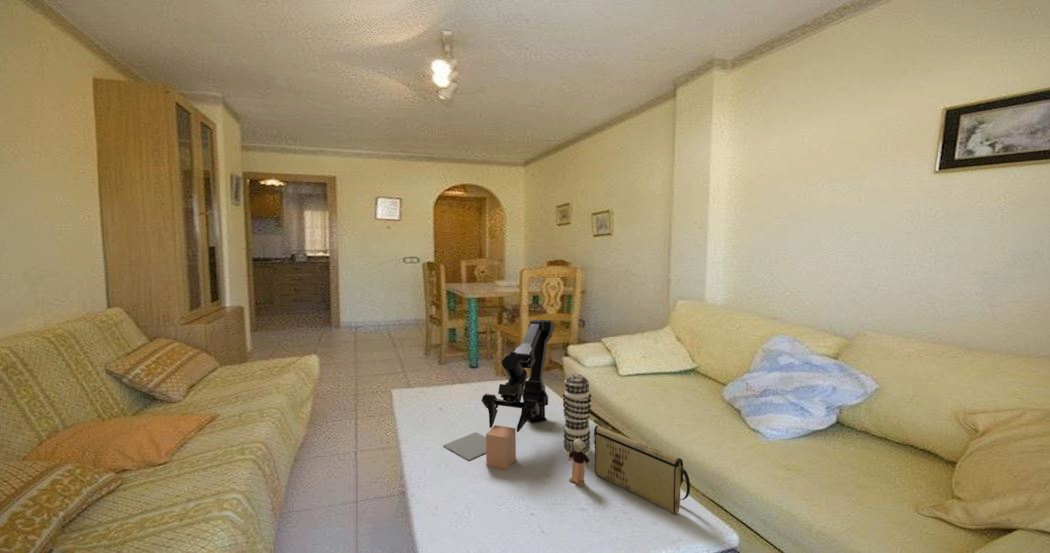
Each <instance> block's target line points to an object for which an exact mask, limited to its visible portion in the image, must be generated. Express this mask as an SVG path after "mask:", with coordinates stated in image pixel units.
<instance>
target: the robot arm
mask: <svg viewBox="0 0 1050 553" xmlns="http://www.w3.org/2000/svg"><path fill="white" fill-rule="evenodd" d="M528 326H529V327H528V329H527V331H526V334H525V336H524V338H523V340H522V342H521V345H519V346H517V347H515V350H514V351H510V354H508V355H506V356H505V357H504V358H502V361H501V366H502V368H503V369H504V372H505V373H506V375H507V377H508V380H507V382H505V384H504V383H500V384H499V385H498V393H497V394H498V395H500V397H501V398H502V399H500V398H497V396H496V395H495V394H491V393H490V394H489V393H485V394H483V395H482V397H481V402H482V404H483V405H484V407H485V408H486V409H487V410H488V419H489V420H488V422H489V423H488V424H489V428H490V429H492V428H493V427H494V423H495V420H496V417H497V413H498V409H497V408H499V406H501V407H510V408H516V409H521V414H520V416H519V420H518V423H517V425H516V426H517V427H516V433H519V432H520V431H521V429H523V427H524V425H526V423H527V422H529V423H531V424H535V423H538V422H539V423H540V422H545V421H547V420H548V419H547V417H546V406H548V405H549V396H548V394H547V391H546V385H545V383H544V381H543V376H544V368H545V360H546V352H547V344H548V342H549V341H550V339H552V336H553V332H554V331H555V324H554V323H553V322H552V320H551V319H532V320H531V319H530V321H529V325H528ZM526 369H531V370H530V377H529V378H528V372H527V370H526ZM521 400H522V401H523V402H522V401H521Z"/></svg>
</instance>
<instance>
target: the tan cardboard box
mask: <svg viewBox="0 0 1050 553" xmlns="http://www.w3.org/2000/svg"><path fill="white" fill-rule="evenodd" d="M516 434H517V428H515V427H509V426H504V425H502V426H501V425H496V424H495V425H493V426H492V428H490V430H488V432H486V434H485V437H486V453H485V455H486V457H485V459H486V462H485V463H486V466H487V467H491V468H497V469H502V470H509V469H510V467H511V466H512V464H513V463H514V462H515V461H516V459H517V454H516V453H517V449H516V447H517V444H516V443H517V440H516V437H517V436H516Z"/></svg>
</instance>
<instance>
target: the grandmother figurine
mask: <svg viewBox="0 0 1050 553" xmlns="http://www.w3.org/2000/svg"><path fill="white" fill-rule="evenodd" d="M573 444H574V450H573V451H572V452H571V453H570V454H569V456H568V457H567V461H568V462H571V461H572V470H571V476H570V477H569V479H568V481H569V482H570V483H576V484H577V486H583V485H584V484H585V483H586V481H585V464H586V466H587V468H588V469H591V468H592V465H591V462H590V461H591V460H590V459H589V457H588V455H587V456H586V455H585V454H584V453H583V452H582V450H583V449H584V448H585V444H584V443H583V441H582V440H580V439H575V440H574V442H573ZM572 459H573V460H572ZM584 482H585V483H584Z"/></svg>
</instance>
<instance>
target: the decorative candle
mask: <svg viewBox="0 0 1050 553" xmlns="http://www.w3.org/2000/svg"><path fill="white" fill-rule="evenodd" d="M564 383H565V384H564V385H565V388H564V393H563V394H562V397H563V398H562V401H563V402H562V404H563V405H562V406H563V408H564V409H563V417H564V419H565V420H564V421H565V422H564V429H563V438H564V439H563V451H564V454H566V455H565V456H568V457H569V454H570V453H571V452H572V451H573V450H574V444H573V442H574V440H575V439H580V440H582V441H583V443H584V444H585V448H584V449H583V450H582V452H583V453H584V454H585V455H586V456H587V457H588V456H589V455H590V450H591V440H590V439H591V436H590V434H591V431H590V425H589V424H590V423H589V420H590V418H591V415H590V413H592V412H591V408H592V405H591V404H590V403H591V402H592V399H591V398H592V394H591V393H590V387H589V386H590V380H588V378H587V377H586V376H585V375H581V374H571V375H569V376H568V377H567V378H566V379H564ZM588 454H589V455H588Z"/></svg>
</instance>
